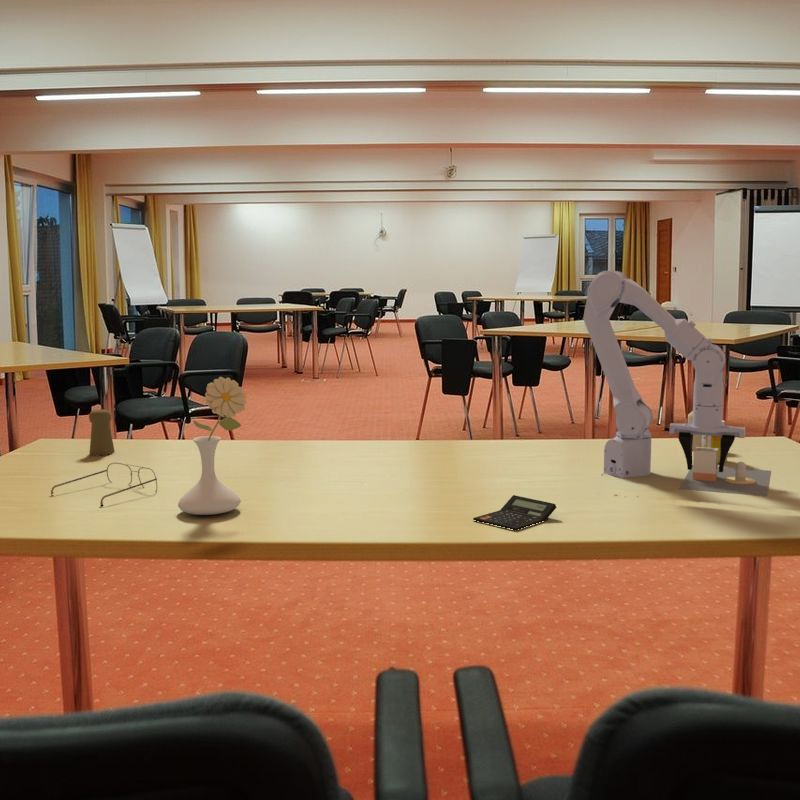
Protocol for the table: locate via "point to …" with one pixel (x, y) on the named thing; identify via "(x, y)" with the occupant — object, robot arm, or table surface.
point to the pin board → (732, 481)
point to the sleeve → (705, 464)
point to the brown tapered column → (101, 433)
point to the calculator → (519, 513)
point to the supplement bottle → (713, 442)
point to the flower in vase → (209, 490)
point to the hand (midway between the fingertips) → (705, 470)
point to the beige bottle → (696, 438)
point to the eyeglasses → (110, 481)
